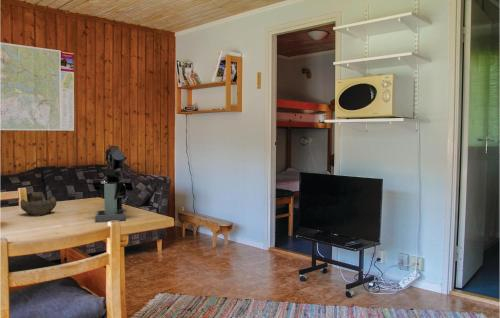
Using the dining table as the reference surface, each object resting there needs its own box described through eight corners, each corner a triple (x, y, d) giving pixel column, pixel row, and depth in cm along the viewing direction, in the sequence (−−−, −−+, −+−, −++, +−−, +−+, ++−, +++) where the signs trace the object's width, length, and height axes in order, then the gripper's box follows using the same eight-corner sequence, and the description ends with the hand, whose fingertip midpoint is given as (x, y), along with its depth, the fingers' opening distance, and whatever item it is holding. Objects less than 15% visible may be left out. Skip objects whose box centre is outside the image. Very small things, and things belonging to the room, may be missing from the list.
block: (107, 212, 202) (107, 183, 201) (116, 212, 202) (116, 183, 201) (104, 214, 197) (104, 184, 196) (114, 214, 197) (113, 184, 197)
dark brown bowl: (18, 206, 200) (20, 190, 213) (21, 225, 205) (22, 209, 217) (56, 202, 207) (55, 187, 219) (57, 221, 211) (57, 205, 224)
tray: (97, 216, 204) (97, 210, 204) (125, 215, 208) (125, 209, 208) (95, 222, 192) (95, 215, 191) (125, 220, 195) (125, 214, 195)
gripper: (92, 162, 202) (84, 188, 191) (132, 162, 202) (126, 188, 192) (98, 177, 210) (91, 203, 200) (136, 177, 211) (131, 203, 200)
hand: (109, 199), depth 198 cm, fingers closed on block, 4 cm apart
